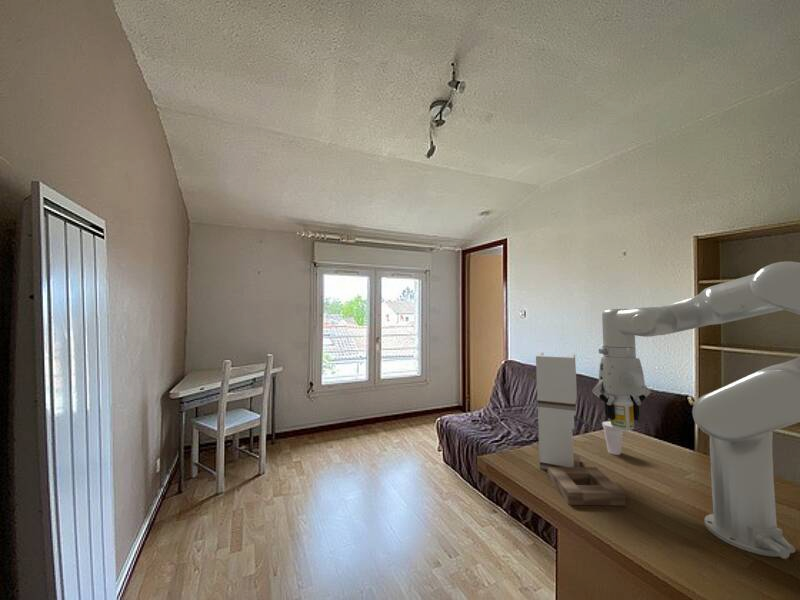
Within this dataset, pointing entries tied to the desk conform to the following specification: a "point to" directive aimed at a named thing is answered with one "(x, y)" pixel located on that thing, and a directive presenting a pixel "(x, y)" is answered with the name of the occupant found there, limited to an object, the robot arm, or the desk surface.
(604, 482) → the socket block
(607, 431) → the smoothie
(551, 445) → the tall seamed white column
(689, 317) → the robot arm
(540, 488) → the desk surface
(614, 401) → the supplement bottle
